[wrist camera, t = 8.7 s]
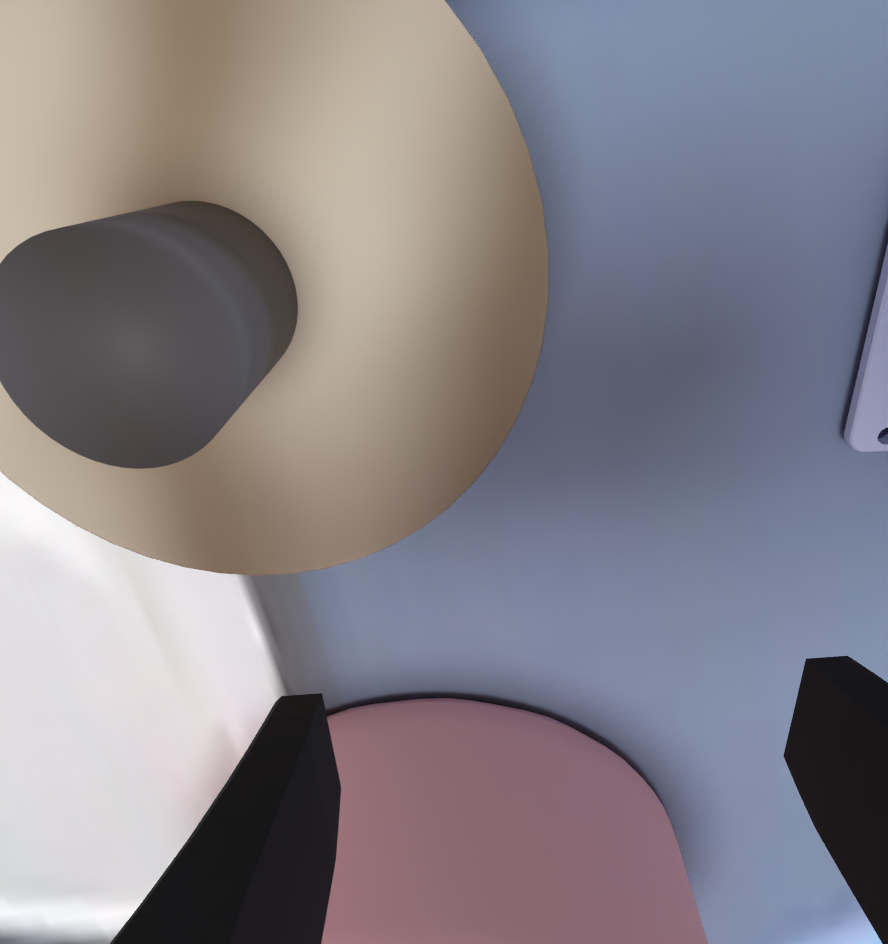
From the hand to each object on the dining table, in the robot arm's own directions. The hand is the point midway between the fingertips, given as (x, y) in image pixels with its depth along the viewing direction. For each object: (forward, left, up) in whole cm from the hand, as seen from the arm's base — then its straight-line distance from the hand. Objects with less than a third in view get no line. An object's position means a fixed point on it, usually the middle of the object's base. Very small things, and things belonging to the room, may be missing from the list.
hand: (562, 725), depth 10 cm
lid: (+6, -6, -5) cm, 10 cm away
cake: (+4, +20, -11) cm, 23 cm away
